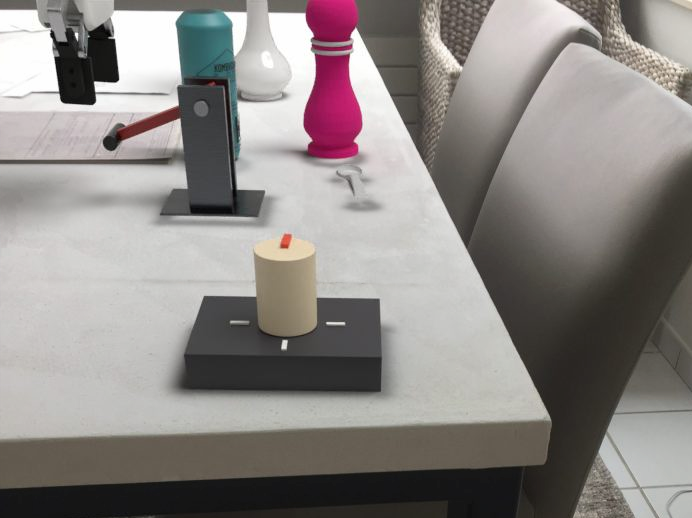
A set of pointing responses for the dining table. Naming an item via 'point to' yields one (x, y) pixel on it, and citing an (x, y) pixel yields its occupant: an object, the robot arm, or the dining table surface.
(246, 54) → the flower vase
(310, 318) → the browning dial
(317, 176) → the dining table surface
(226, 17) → the beverage bottle
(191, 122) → the lever bracket
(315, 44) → the pepper mill
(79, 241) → the dining table surface
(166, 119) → the red lever
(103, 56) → the robot arm
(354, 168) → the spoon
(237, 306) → the dial panel
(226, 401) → the dining table surface
